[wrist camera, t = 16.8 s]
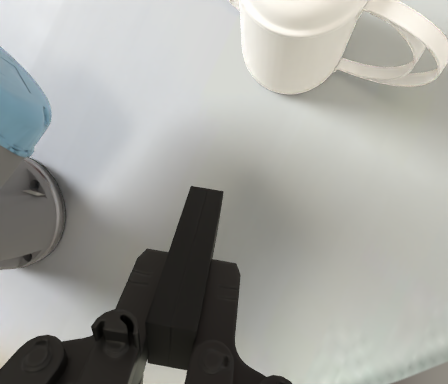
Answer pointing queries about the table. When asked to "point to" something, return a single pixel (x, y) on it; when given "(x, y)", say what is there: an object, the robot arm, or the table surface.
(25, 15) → the table surface
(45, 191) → the robot arm
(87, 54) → the table surface
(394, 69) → the coffeepot
